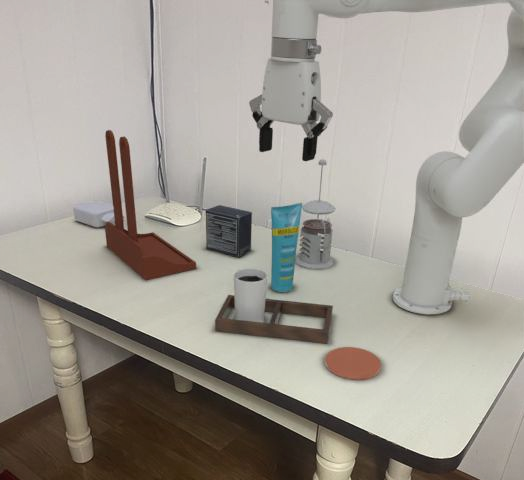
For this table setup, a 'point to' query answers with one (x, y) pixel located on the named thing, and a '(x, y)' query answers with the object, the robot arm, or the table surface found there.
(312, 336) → the rack
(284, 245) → the tube
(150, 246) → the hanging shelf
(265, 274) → the white cup
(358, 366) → the coaster
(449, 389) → the table surface
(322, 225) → the french press
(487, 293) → the table surface
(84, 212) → the charger
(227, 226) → the small box
